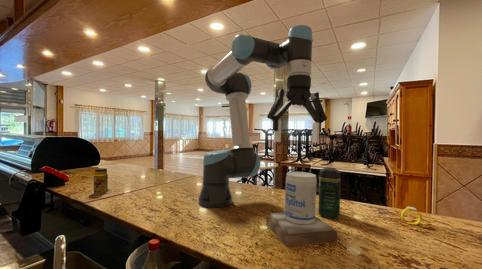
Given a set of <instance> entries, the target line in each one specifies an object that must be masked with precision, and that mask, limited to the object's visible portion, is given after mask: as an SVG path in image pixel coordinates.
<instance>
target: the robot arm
mask: <svg viewBox="0 0 482 269" xmlns="http://www.w3.org/2000/svg"><path fill="white" fill-rule="evenodd" d="M313 41H314V40H313V29H312V27H311V26H308V25H306V24H305V25H304V24H298V25H294V26H292V27H291V28H290V29H289V30H288V35H287V39H286V40H284V41H283V42H281V43H278V42H275V41H271V40H266V39H262V38H258V37H255V36H251V35H249V34H243V33H239V34H237V35H235V36H234V40H233V41H232V43H231V51H230V52H229V53H228V54H226V56H224V57H223V58H222V59H221V60H220V61H219V62H218V63H217V64H216V65H212V66H210V67H209V68H208V69H207V70H206V73H205V76H204V79H205V80H204V81H205V83H206V85H207V87H208V88H209V89H210V90H211V91H212V92H214V93H217V94H221V95H222V94H223V95H224V96H225V100H226V101H227V102H228V105H229V106H228V108H229V115H230V116H229V117H230V128H231V131H230V132H231V139H232V140H231V141H232V142H231V143H232V147H231V148H230V150H229V149H221V150H220V149H218V150H212V151H208V152H205V153H204V155H203V162H202V165H203V166H202V172H203V173H202V186H201V189H200V193H199V196H198V205H199V206H201V207H204V208H210V209H212V208H214V209H215V208H216V209H217V208H218V209H219V208H225V207H229V206H230V205H232V204H233V195H232V192H231V188H230V184H229V183H230V179H239V178H246V179H247V178H250V177H255V176H256V175H257V174H258V172H259V170H260V169H261V168H260V167H261V158H260V156H259V154H258V152H255V148H254V147H253V146H252V145H251V138H250V130H249V129H250V128H249V119H248V110H247V102H246V100H247V99H248V98H249V95H250V94H251V91H252V80H251V78H250V76H249V75H248V74H246V73H244V72H243V73H242V72H239V71H241V70H242V69H244V68H246V66H248V65H249V64H251V63H252V62H253V63H254V62H256V63H259V64H266V66H267V67H268V68H269V69H271V70H277V69H280V68H282V67H285V66H287V70H286V72H287V73H286V74H287V78H286V90H285V89H283V88H282V89H279V90H278V91H276V92H277V94H276V98H275V100H274V102H273V104H272V106H271V108H270V110H269V112H268V114H267V116H266V117H267V119H268V120H269V119H270V120H271V121H272V131H274V142H277V143H279V142H281V138H282V137H281V136H282V120H280V119H281V118H282V116H284V114H285V113H286V112H287V110H288V109H289V108H290V107H291V106H299V107H301V106H302V107H303V108H305V110H306V111H307V113H308V114H309V115H310V117H311V118H312V120H313V121H314V122H312V130H311V132H312V133H311V142H312V143H319V142H320V133H321V132H322V123H324V122H326V121H327V120H328V118H327V115H326V113H325V109H324V108H323V105H322V102H321V100H320V94H319V93H320V92H318V91H315V92H311V87H312V77H311V75H312V62H313V61H312V57H313V56H312V54H313ZM284 97H286V98H287V100H286V101H285V102H284V104H283V105H282V106H281V103H282V101H283V99H284ZM280 106H281V107H280ZM279 107H280V109H279Z"/></svg>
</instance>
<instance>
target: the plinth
mask: <svg viewBox="0 0 482 269" xmlns="http://www.w3.org/2000/svg"><path fill="white" fill-rule="evenodd" d="M265 225H267V226H268V228H269V229H270V230H271V231H272V232H273V233H274V235H276V236H277V238H278V239H279V240H280V241H281V242H282V243H283V244H284V245H285V247H287V248H291V247H292V248H293V247H301V246H309V245H310V246H311V245H318V244H319V245H320V244H326V243H336V242H338V231H337V230H336V229H334V228H333V226H331V225H330V224H329V223H327V222H325V221H324V220H322V219H321V218H319V217H317V216H316V215H315V221H314V222H313V223H311V224H305V225H304V224H295V223H292V222H290V221H288V220H287V219H286V218H285V216H284V212H273V213H272V212H271V213H269V215H266V222H265Z"/></svg>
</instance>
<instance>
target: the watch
mask: <svg viewBox="0 0 482 269" xmlns="http://www.w3.org/2000/svg"><path fill="white" fill-rule="evenodd" d="M408 211H412V212H416V213H417V215H418V219H417V220H416V221H414V222H411V221H410V222H407V221H406V220H405V218H404V216H405V213H406V212H408ZM400 218H401V220H402V221H403V222H404V223H406V225H412V226H418V225H419V224H420V223H421V222H422V220H423V217H422V214H421V212H420V211H419V210H417V208H416V207H414V206H406V207H405V208H404V209H403V210H402V211H401V213H400Z"/></svg>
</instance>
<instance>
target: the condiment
mask: <svg viewBox="0 0 482 269" xmlns="http://www.w3.org/2000/svg"><path fill="white" fill-rule="evenodd" d="M108 174H109V173H108V168H106V167H104V168H103V167H101V168H95V170H94V174H93V190H91V193H92V195H93V196H94V195H99V194H100V195H101V194H108V193H109V194H110V193H111V191H110V189H109V188H108V187H109V185H108V184H109V183H108V182H109V180H108V178H109V175H108Z"/></svg>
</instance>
